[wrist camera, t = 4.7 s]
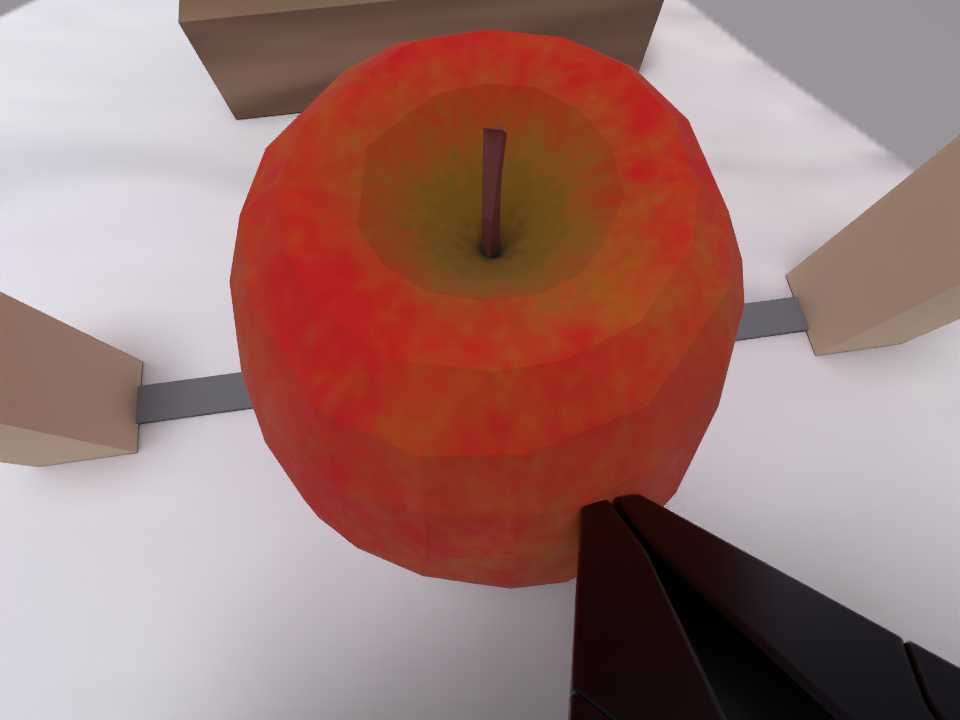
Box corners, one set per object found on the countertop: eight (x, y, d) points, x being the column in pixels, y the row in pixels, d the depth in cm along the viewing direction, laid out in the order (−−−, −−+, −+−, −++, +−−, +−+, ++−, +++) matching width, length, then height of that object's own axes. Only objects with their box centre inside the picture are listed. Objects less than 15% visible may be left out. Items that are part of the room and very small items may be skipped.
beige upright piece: (901, 343, 17) (1174, 226, 10) (36, 466, 16) (-293, 423, 9) (867, 264, 18) (1099, 110, 11) (47, 373, 16) (-243, 271, 10)
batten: (637, 74, 20) (673, -28, 17) (235, 119, 20) (178, 22, 16) (625, 37, 21) (658, -70, 17) (236, 79, 20) (180, -24, 16)
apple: (656, 589, 14) (1076, 702, 4) (275, 553, 15) (-182, 577, 5) (646, 255, 18) (859, -113, 8) (342, 232, 18) (172, -149, 8)
